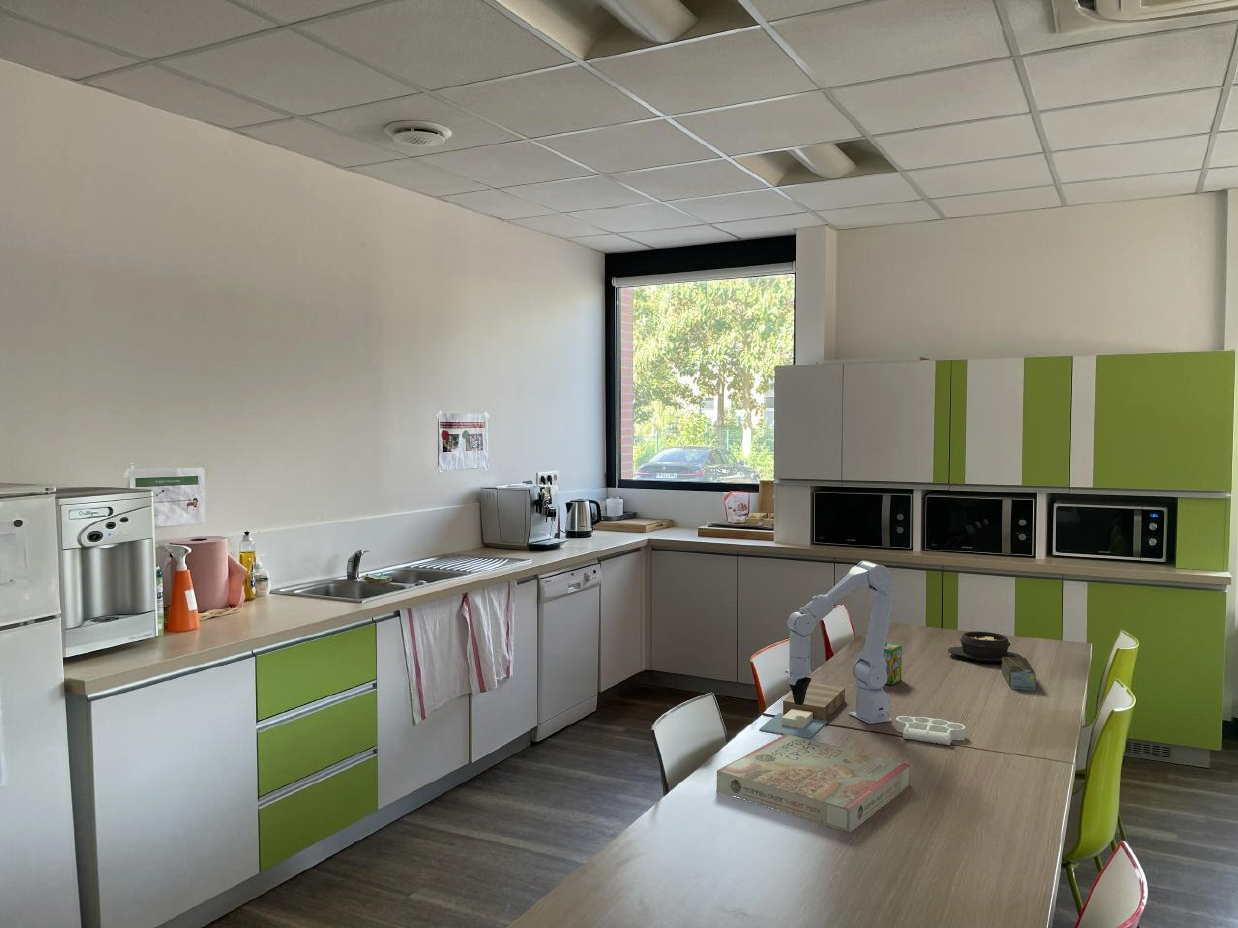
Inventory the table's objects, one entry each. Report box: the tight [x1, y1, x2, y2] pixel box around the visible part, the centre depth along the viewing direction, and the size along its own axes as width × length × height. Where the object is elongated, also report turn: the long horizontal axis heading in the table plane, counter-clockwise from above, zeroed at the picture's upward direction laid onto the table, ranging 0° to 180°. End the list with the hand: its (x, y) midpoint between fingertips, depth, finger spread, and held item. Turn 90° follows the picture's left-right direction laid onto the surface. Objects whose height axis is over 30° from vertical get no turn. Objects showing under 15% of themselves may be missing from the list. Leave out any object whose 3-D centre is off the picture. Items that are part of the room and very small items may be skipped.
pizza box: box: [716, 734, 911, 834], centre depth 205 cm, size 32×5×32 cm
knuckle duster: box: [895, 715, 967, 746], centre depth 242 cm, size 3×18×15 cm
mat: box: [758, 712, 828, 740], centre depth 248 cm, size 16×14×1 cm
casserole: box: [947, 631, 1024, 664], centre depth 323 cm, size 25×19×8 cm
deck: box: [782, 682, 846, 721], centre depth 265 cm, size 22×12×4 cm, turn 151°
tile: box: [782, 709, 813, 728], centre depth 251 cm, size 9×6×2 cm, turn 151°
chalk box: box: [883, 642, 903, 686], centre depth 294 cm, size 9×9×15 cm
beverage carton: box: [1001, 657, 1037, 692], centre depth 294 cm, size 8×19×7 cm, turn 164°
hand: (799, 703), depth 252 cm, fingers closed
